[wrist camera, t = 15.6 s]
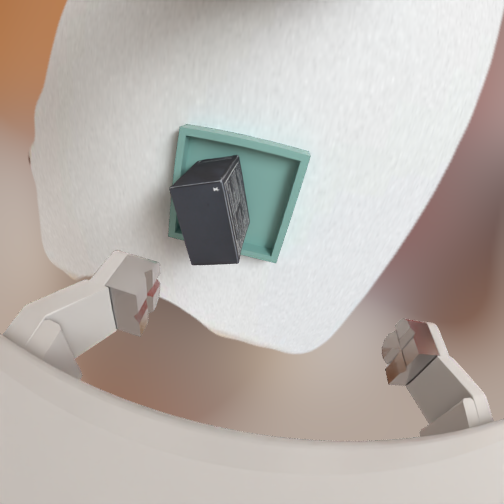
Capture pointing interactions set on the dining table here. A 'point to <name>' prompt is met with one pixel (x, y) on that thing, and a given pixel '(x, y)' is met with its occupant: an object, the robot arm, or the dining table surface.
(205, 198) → the small box
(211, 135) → the teal tray
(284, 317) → the dining table surface
